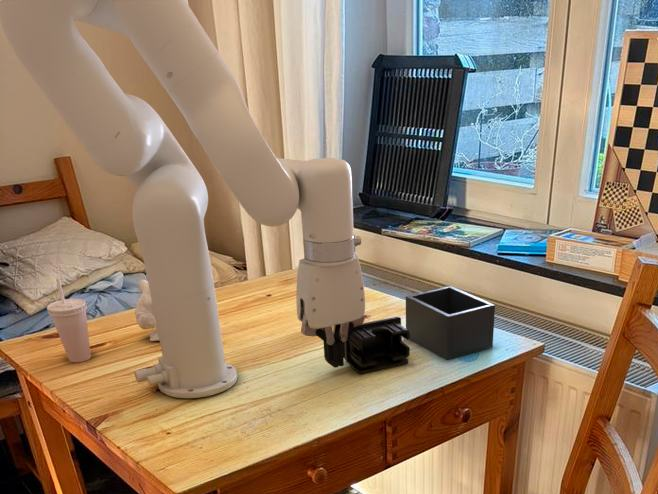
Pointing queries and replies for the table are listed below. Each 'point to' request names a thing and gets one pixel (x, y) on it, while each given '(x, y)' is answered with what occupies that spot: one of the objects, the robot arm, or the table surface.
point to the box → (450, 322)
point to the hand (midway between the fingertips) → (335, 363)
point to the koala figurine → (146, 311)
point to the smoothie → (71, 326)
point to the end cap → (377, 346)
